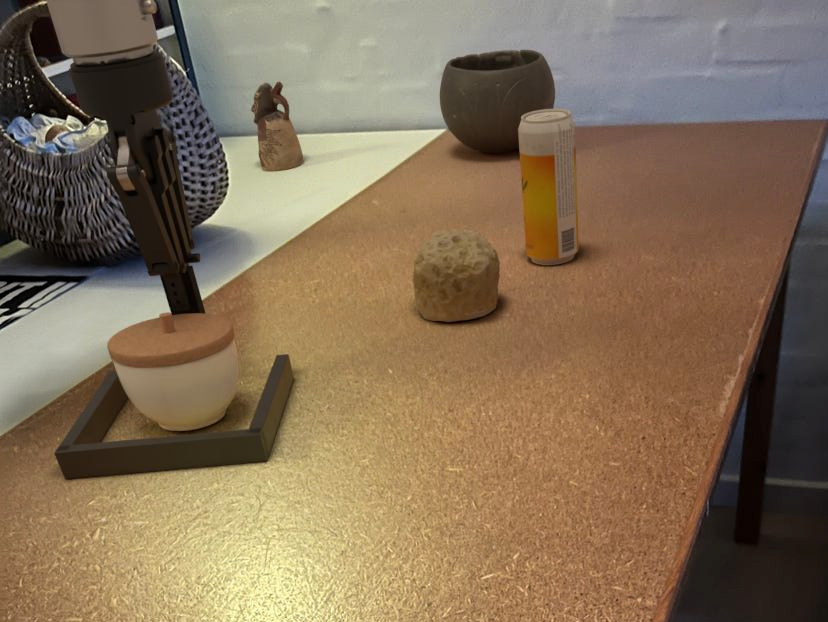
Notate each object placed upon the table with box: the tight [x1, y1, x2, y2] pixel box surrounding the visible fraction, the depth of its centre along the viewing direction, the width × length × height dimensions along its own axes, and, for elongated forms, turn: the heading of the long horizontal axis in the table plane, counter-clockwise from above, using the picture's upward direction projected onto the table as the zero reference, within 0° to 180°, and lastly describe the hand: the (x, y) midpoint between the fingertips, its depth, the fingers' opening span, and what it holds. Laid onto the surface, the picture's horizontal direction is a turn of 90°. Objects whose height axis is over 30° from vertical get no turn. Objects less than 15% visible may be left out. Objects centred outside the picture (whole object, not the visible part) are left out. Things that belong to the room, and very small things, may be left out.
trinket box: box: [106, 312, 240, 432], centre depth 86 cm, size 11×11×9 cm
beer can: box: [518, 108, 580, 266], centre depth 109 cm, size 6×6×15 cm
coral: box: [412, 228, 501, 323], centre depth 102 cm, size 9×9×8 cm
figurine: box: [250, 80, 304, 172], centre depth 157 cm, size 7×7×12 cm
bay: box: [53, 353, 295, 480], centre depth 88 cm, size 16×17×2 cm
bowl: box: [439, 49, 556, 154], centre depth 151 cm, size 18×18×13 cm
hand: (195, 338), depth 93 cm, fingers closed
